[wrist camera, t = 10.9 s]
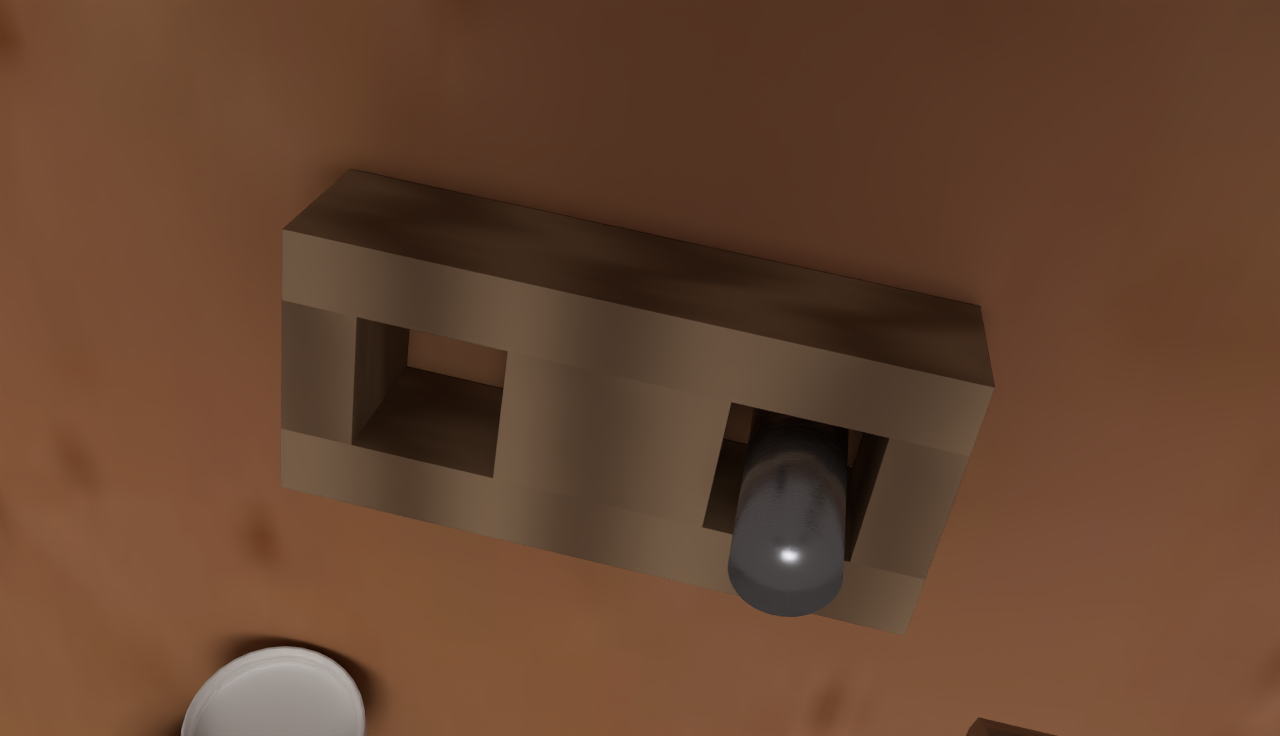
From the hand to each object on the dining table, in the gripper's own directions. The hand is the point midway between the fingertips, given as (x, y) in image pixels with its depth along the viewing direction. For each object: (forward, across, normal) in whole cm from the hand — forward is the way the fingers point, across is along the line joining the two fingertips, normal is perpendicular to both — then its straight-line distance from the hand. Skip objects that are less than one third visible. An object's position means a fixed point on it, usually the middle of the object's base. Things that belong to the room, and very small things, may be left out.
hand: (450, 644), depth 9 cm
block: (+27, +2, +13) cm, 30 cm away
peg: (+27, -4, +13) cm, 30 cm away
